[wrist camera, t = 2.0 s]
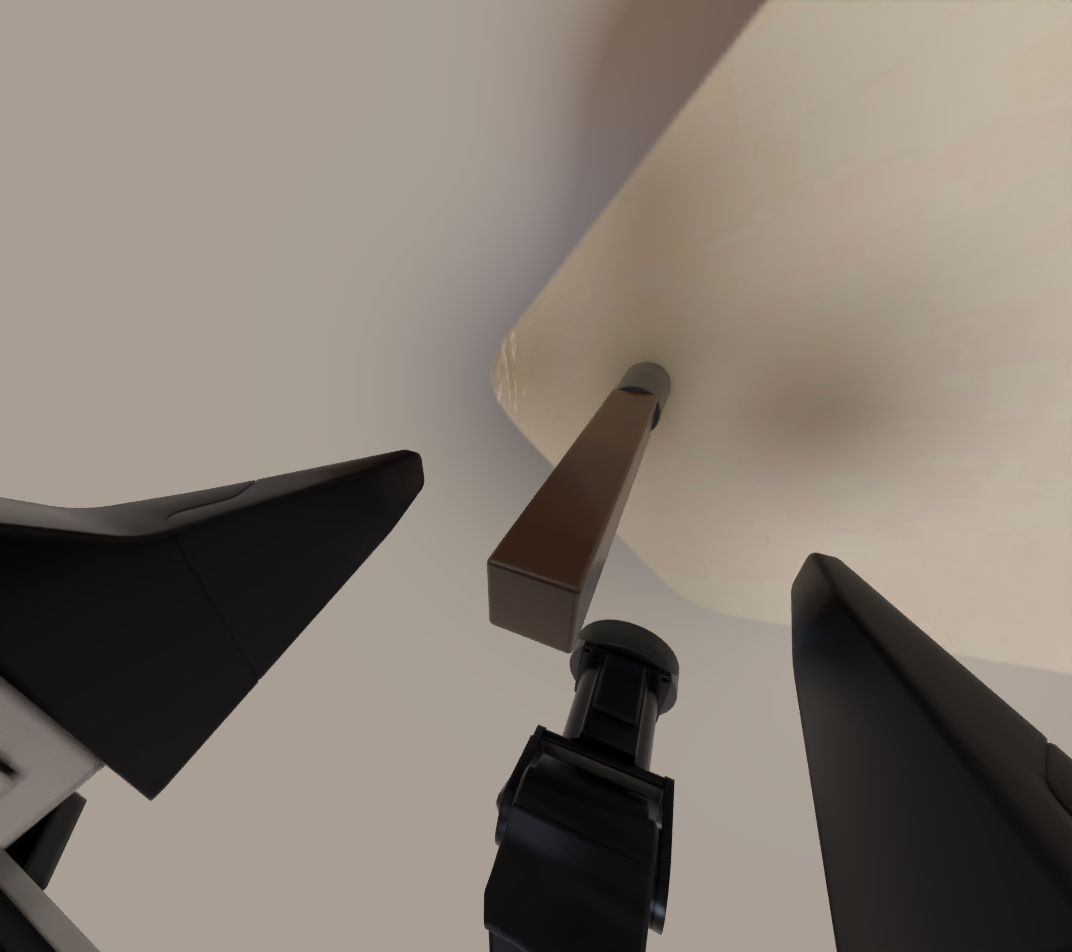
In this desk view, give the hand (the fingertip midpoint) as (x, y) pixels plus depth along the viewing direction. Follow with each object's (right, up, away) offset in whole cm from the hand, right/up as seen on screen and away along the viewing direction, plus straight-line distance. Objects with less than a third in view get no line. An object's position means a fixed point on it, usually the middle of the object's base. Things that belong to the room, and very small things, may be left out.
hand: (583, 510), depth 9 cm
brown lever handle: (+4, +5, +8) cm, 10 cm away
